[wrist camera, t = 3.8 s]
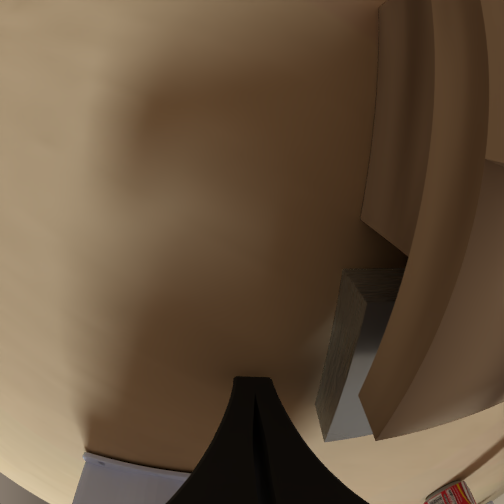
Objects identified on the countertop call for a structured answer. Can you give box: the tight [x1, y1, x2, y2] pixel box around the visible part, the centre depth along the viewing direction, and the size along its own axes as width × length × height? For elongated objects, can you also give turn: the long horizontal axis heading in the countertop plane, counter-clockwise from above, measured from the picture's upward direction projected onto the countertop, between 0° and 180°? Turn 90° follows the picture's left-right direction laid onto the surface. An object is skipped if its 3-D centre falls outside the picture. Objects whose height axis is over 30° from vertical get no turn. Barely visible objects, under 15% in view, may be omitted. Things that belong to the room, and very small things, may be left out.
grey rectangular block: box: [315, 268, 405, 442], centre depth 10 cm, size 5×7×3 cm
